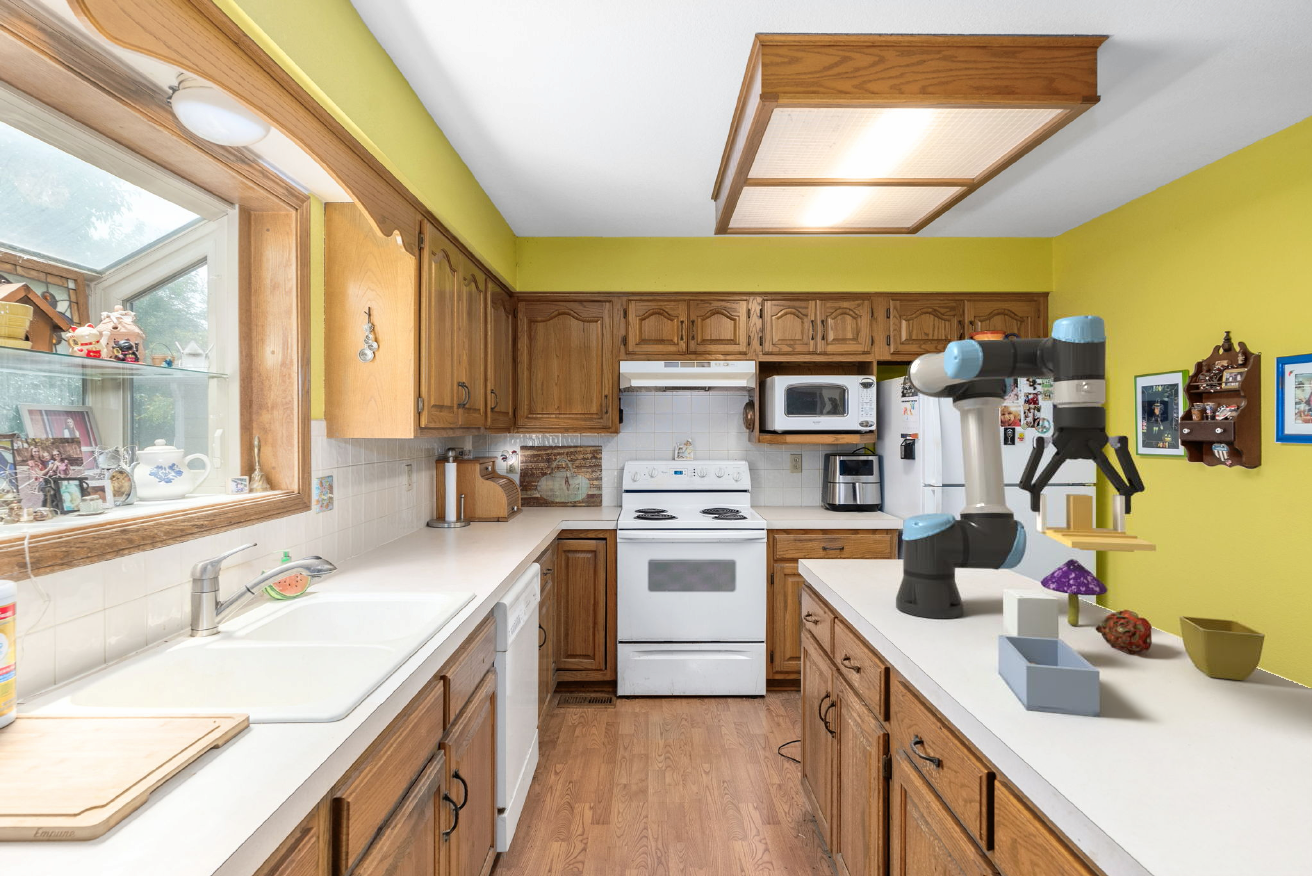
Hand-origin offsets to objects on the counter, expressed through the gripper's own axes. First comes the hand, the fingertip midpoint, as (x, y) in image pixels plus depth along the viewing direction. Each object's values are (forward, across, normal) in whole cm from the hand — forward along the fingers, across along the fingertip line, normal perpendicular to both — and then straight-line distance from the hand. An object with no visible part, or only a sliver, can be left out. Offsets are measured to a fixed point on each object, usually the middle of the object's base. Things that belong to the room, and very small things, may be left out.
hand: (1079, 532), depth 106 cm
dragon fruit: (+26, +15, +21) cm, 37 cm away
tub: (+26, -8, -7) cm, 28 cm away
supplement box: (+26, -5, +10) cm, 29 cm away
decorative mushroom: (+26, +10, +35) cm, 45 cm away
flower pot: (+26, +25, +10) cm, 38 cm away
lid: (+1, 0, -6) cm, 6 cm away
